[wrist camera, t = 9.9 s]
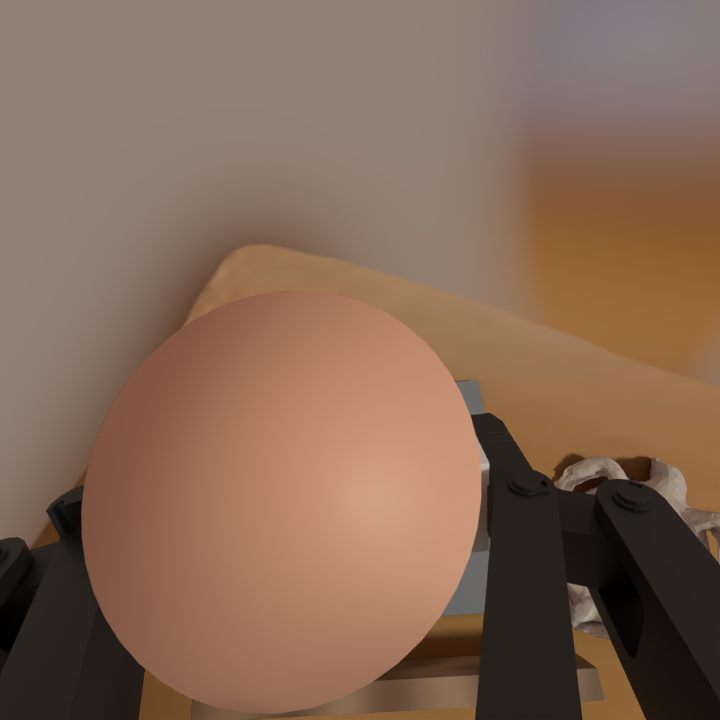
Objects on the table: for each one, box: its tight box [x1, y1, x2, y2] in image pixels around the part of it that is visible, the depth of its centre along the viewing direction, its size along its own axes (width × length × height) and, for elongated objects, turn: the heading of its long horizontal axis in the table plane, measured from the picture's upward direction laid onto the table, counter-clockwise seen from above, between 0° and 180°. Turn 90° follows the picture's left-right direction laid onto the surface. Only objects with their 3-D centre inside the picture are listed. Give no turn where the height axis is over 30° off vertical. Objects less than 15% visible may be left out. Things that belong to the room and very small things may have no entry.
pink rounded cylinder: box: [81, 291, 481, 714], centre depth 13 cm, size 7×7×12 cm
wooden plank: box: [191, 653, 605, 720], centre depth 27 cm, size 26×2×4 cm, turn 94°
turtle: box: [557, 456, 720, 639], centre depth 28 cm, size 16×10×10 cm, turn 161°
